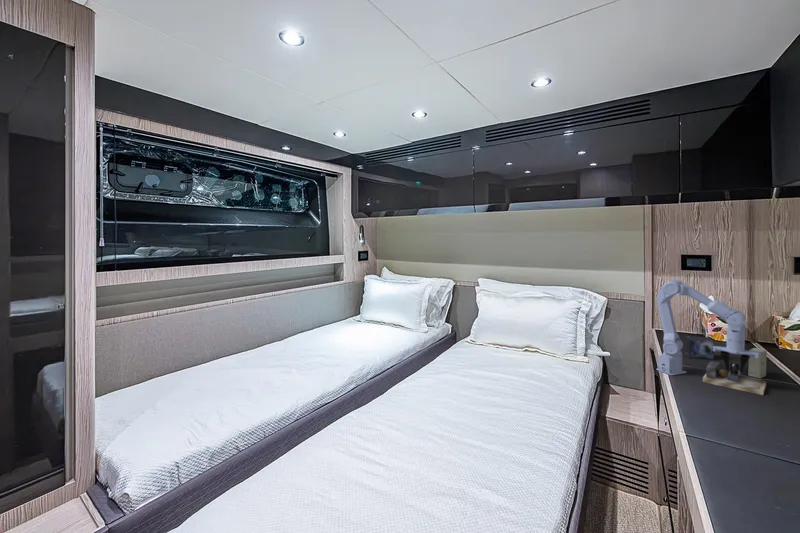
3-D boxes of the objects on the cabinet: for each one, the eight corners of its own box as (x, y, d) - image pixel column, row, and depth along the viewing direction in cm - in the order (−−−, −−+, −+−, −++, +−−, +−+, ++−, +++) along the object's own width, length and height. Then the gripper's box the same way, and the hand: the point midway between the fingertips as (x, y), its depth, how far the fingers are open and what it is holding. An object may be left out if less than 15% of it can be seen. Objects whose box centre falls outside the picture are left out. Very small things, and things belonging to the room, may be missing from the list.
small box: (689, 358, 188) (690, 339, 187) (684, 354, 194) (685, 335, 193) (714, 360, 184) (715, 340, 183) (708, 356, 190) (709, 336, 189)
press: (702, 381, 160) (703, 366, 159) (708, 374, 167) (708, 359, 167) (763, 395, 145) (763, 378, 144) (766, 386, 153) (766, 370, 152)
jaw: (727, 381, 154) (728, 365, 154) (731, 375, 160) (731, 359, 159) (737, 383, 152) (737, 367, 151) (740, 376, 158) (741, 361, 157)
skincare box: (760, 378, 160) (761, 352, 159) (747, 375, 164) (748, 349, 163) (766, 375, 163) (767, 349, 162) (753, 372, 167) (754, 347, 166)
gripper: (711, 338, 157) (710, 368, 159) (758, 345, 146) (756, 377, 147) (714, 335, 162) (713, 364, 163) (760, 341, 151) (758, 372, 152)
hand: (734, 370), depth 156 cm, fingers open, 4 cm apart
